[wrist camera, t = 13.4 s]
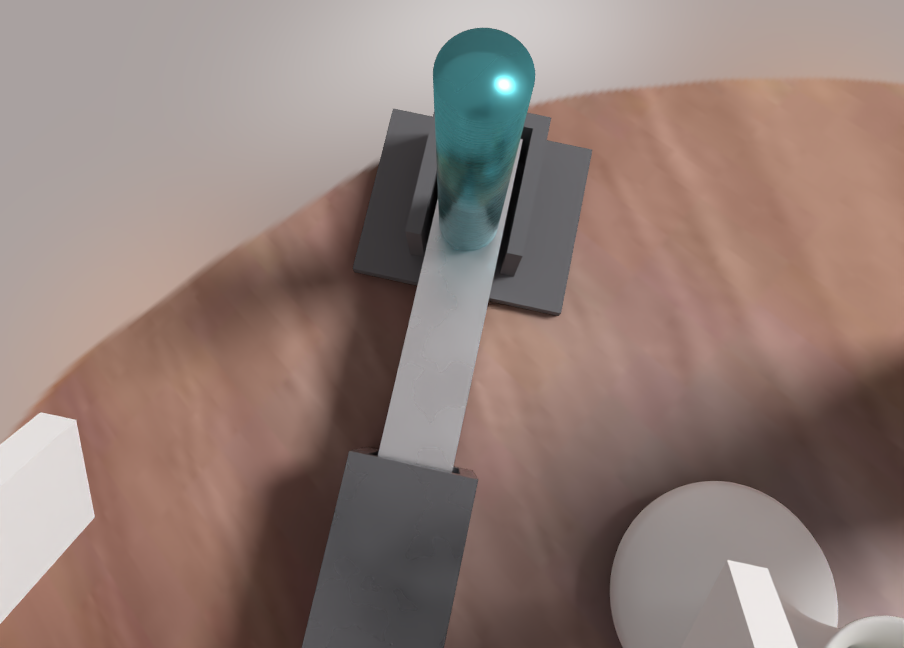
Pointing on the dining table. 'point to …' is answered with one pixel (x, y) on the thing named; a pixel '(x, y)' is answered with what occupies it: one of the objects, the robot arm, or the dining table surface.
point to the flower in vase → (703, 557)
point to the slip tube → (459, 240)
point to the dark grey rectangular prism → (391, 555)
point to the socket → (527, 222)
